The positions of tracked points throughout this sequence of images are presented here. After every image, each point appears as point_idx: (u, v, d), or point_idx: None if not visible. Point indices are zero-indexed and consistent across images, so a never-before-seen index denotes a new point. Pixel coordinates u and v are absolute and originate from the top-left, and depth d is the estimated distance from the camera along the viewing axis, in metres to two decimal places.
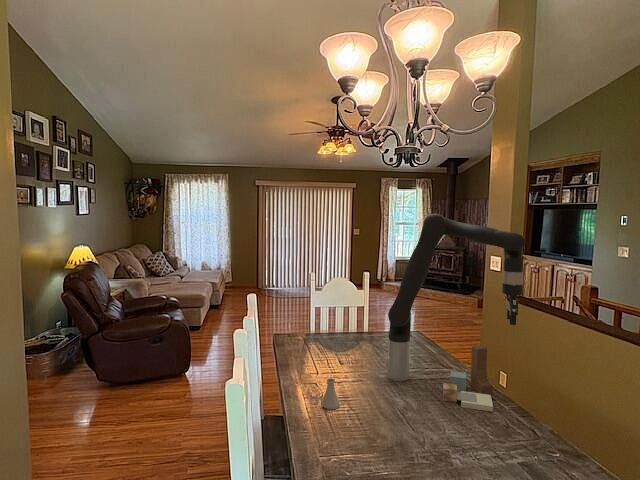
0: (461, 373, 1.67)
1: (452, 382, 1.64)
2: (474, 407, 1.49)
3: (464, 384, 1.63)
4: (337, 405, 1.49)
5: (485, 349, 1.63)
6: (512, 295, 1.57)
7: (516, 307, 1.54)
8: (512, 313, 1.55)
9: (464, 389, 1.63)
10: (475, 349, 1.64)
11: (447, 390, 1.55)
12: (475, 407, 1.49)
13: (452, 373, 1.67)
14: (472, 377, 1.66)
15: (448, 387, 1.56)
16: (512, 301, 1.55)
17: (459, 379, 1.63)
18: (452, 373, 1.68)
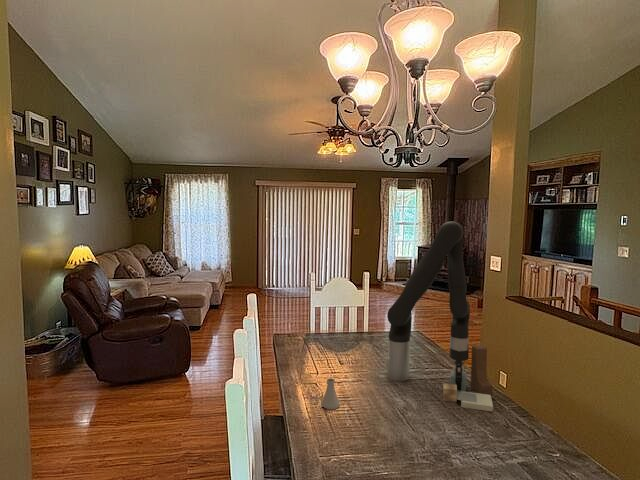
0: None
1: (452, 382, 1.64)
2: (474, 407, 1.49)
3: (464, 384, 1.63)
4: (337, 405, 1.49)
5: (485, 349, 1.63)
6: (457, 360, 1.62)
7: (460, 375, 1.60)
8: (456, 379, 1.61)
9: (464, 389, 1.63)
10: (475, 349, 1.64)
11: (447, 390, 1.55)
12: (475, 407, 1.49)
13: (452, 373, 1.67)
14: (472, 377, 1.66)
15: (448, 387, 1.56)
16: (456, 369, 1.60)
17: None
18: (452, 372, 1.68)
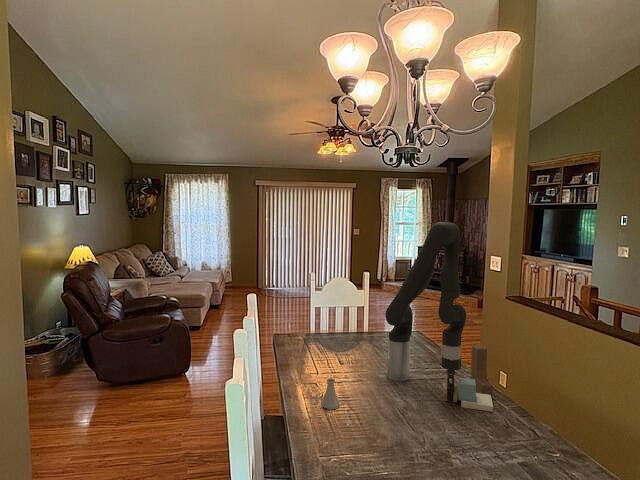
0: (470, 380, 1.55)
1: (461, 390, 1.52)
2: (474, 407, 1.49)
3: (474, 392, 1.50)
4: (337, 405, 1.49)
5: (485, 349, 1.63)
6: (449, 369, 1.53)
7: (452, 386, 1.51)
8: (448, 390, 1.52)
9: (474, 397, 1.50)
10: (475, 349, 1.64)
11: None
12: (475, 407, 1.49)
13: (460, 380, 1.55)
14: (472, 377, 1.66)
15: None
16: (448, 380, 1.50)
17: (468, 386, 1.51)
18: (460, 379, 1.55)
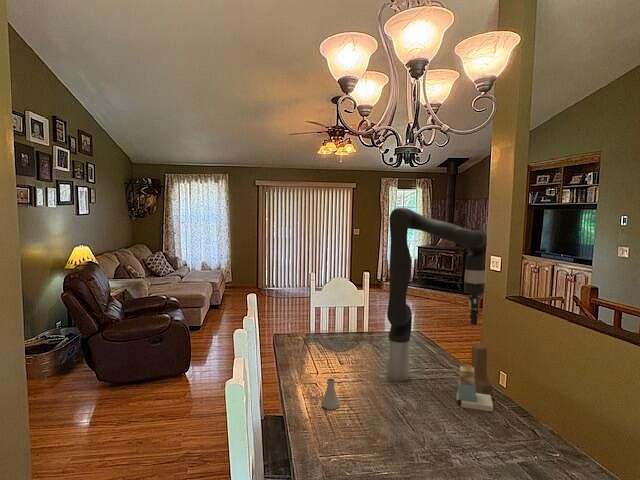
0: None
1: (461, 390, 1.52)
2: (474, 407, 1.49)
3: (474, 392, 1.50)
4: (337, 405, 1.49)
5: (485, 349, 1.63)
6: (473, 293, 1.54)
7: (476, 306, 1.51)
8: (472, 312, 1.52)
9: (474, 397, 1.51)
10: (475, 349, 1.64)
11: (464, 372, 1.51)
12: (475, 407, 1.49)
13: None
14: None
15: (465, 369, 1.53)
16: (472, 300, 1.52)
17: (468, 386, 1.51)
18: None
